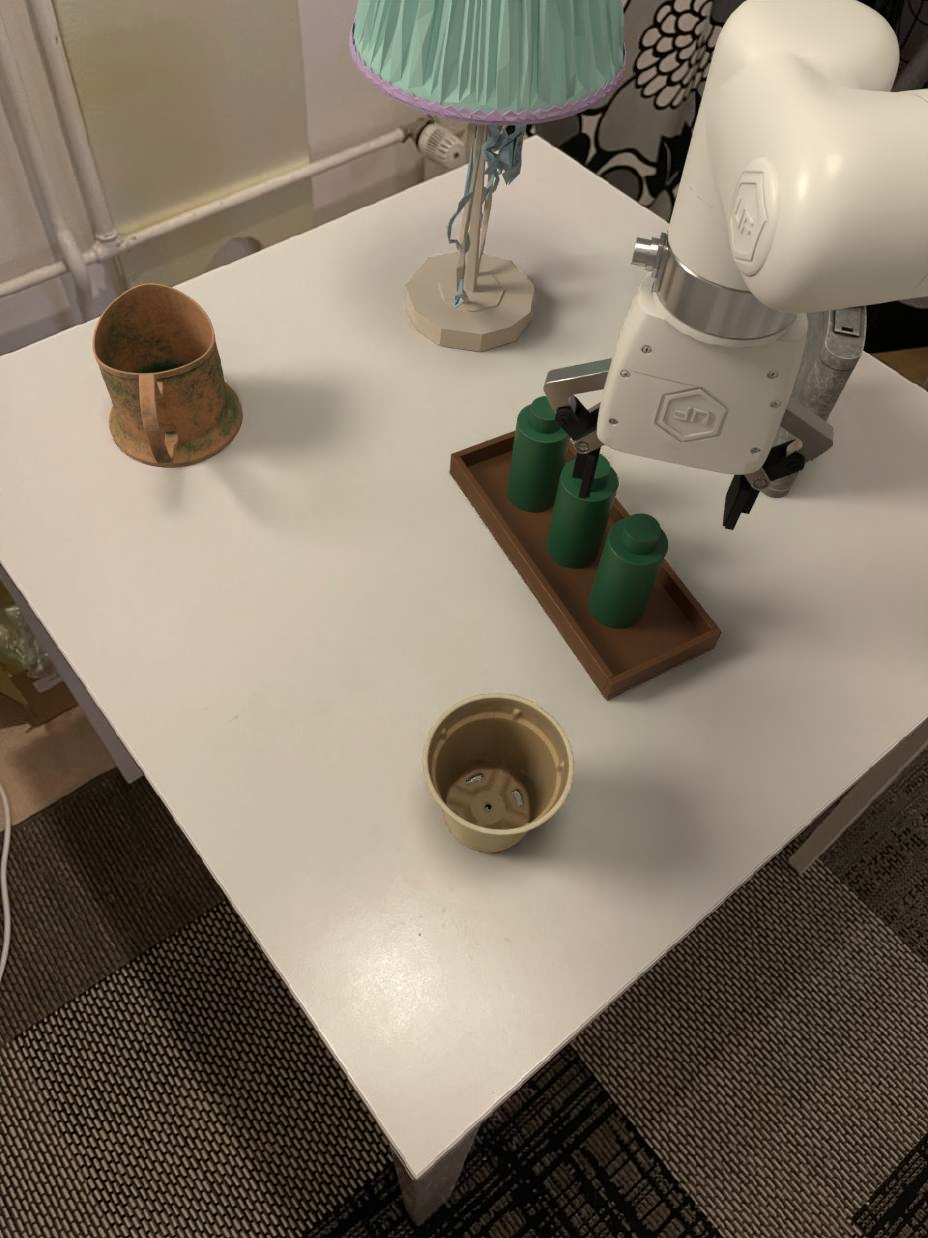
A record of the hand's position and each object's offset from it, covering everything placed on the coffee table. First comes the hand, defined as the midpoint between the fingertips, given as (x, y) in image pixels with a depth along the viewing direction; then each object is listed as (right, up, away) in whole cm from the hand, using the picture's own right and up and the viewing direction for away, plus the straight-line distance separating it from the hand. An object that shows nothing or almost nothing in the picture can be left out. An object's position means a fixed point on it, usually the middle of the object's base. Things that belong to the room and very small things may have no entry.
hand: (657, 498), depth 61 cm
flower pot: (-11, -22, +3) cm, 24 cm away
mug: (-38, +7, +19) cm, 43 cm away
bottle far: (-7, +3, +18) cm, 19 cm away
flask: (+16, +8, +24) cm, 30 cm away
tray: (-4, -3, +15) cm, 16 cm away
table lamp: (-12, +23, +31) cm, 41 cm away
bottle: (-1, -7, +12) cm, 14 cm away
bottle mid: (-4, -2, +15) cm, 15 cm away
